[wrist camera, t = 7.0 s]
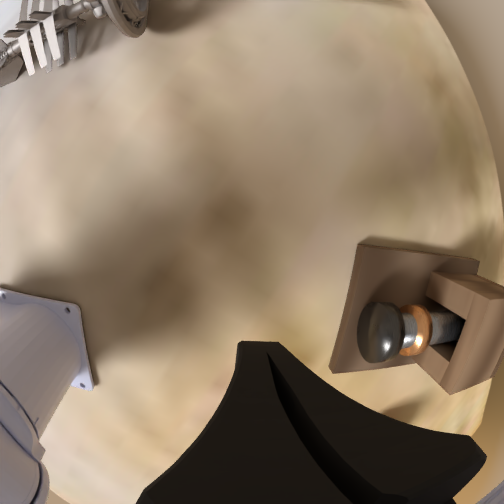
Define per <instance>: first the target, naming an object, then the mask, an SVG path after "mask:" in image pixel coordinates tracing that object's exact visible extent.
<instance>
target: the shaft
mask: <svg viewBox="0 0 504 504" xmlns="http://www.w3.org/2000/svg"><path fill="white" fill-rule="evenodd" d="M465 322H466V320H465V319H464V318H462V317H461V316H459V315H457V314H456V313H454V312H452V311H451V310H448V311H431V312H428V310H427V309H426V308H425V307H424V306H422V305H418V304H416V305H404V306H402V307H401V308H398V307H397V306H396V305H395V304H394V303H392V302H371V303H369V304H367V305H366V306H365V307H364V309H363V310H362V312H361V314H360V317H359V320H358V325H357V343H358V348H359V351H360V354H361V356H362V357H363V359H364V360H365V361H367V362H368V363H381V362H388V361H391V360H393V359H394V358H396V357H397V355H398V354H401V355H403V356H410V355H417V354H420V353H422V352H424V351H425V350H426V348H427V347H428V345H432V344H439V343H444V342H450V341H455V340H459V338H460V335H461V333H462V330H463V327H464V324H465Z"/></svg>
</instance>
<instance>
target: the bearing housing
mask: <svg viewBox="0 0 504 504" xmlns="http://www.w3.org/2000/svg"><path fill="white" fill-rule="evenodd" d="M479 262H480V261H478V260H475V259H471V258H464V257H457V256H450V255H442V254H435V253H427V252H419V251H411V250H404V249H395V248H387V247H379V246H371V245H362V244H357V250H356V255H355V261H354V266H353V271H352V276H351V281H350V285H349V290H348V294H347V299H346V303H345V307H344V312H343V316H342V320H341V324H340V328H339V331H338V335H337V339H336V343H335V346H334V350H333V353H332V357H331V360H330V364H329V368H330V370H331V371H332V373H333V374H335V373H347V372H357V371H366V370H374V369H382V368H389V367H395V366H402V365H408V364H413V363H417V364H418V365H419V366H420V367H421V368H422V369H423V370H424V371H426V372H427V373H428V374H429V375H430V376H431V377H432V378H433V379H434V380H435V381H436V382H437V383H438V384H439V385H440V386H441V387H442V388H443V389H444V390H445V391H446V392H447V393H448V394H449V395H452V394H454V393H457V392H460V391H462V390H465V389H467V388H470V387H472V386H474V385H477V384H479V383H481V382H483V381H486V380H488V379H489V378H492V377H494V376H495V374H496V372H497V370H498V368H499V366H500V364H501V362H502V359H503V357H504V287H503V286H501V285H499V284H497V283H494V282H492V281H490V280H488V279H485V278H483V277H481V276H478V275H477V271H478V267H479ZM371 302H392V303H394V304H395V305H396V306H397V307H398V308H401V307H402V306H404V305H416V304H418V305H422V306H424V307H425V308H426V309H427V310H428V312H431V311H448V310H451V311H452V312H454V313H456V314H457V315H459V316H461V317H462V318H464V319H465V320H466V322H465V324H464V327H463V330H462V333H461V335H460V338H459V340H455V341H450V342H444V343H439V344H432V345H428V347H427V348H426V350H425V351H424V352H422V353H420V354H417V355H410V356H403V355H401V354H398V355H397V357H396V358H394V359H393V360H391V361H388V362H381V363H368V362H367V361H365V360H364V359H363V357H362V356H361V354H360V351H359V348H358V343H357V325H358V320H359V317H360V314H361V312H362V310H363V309H364V307H365V306H366V305H367V304H369V303H371Z"/></svg>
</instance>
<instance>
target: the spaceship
mask: <svg viewBox="0 0 504 504" xmlns="http://www.w3.org/2000/svg"><path fill="white" fill-rule="evenodd" d="M64 4H65V5H61V6H59V1H58V0H42V1H40V0H33V2H32V9H31V14H29V16H30V17H29V18H30V21H27V6H28V0H22V5H21V12H20V19H19V22H18V23H17V24H16V25H17V27H15V28H18V30H8V31H7V32H6V33H5V34H3V35H5V36H4V37H13V38H15V41H12V42H10V43H8V45H7V44H6V43H5V42H4V41H3V40H2V39H0V87H2V86H4V85H6V84H9V83H11V82H14V81H16V79H17V76H18V74H19V71H20V69H21V67H22V65H23V63H24V61H25V65H26V68H27V71H28V74H29V76H30V75H32V74H33V73H35V69H34V65H33V61H32V57H31V52H30V48H29V46H34V47H35V51H36V54H37V57H38V60H39V64H40V67H41V68H43V67H44V66H46V73H48V72H50V71H51V70H52V56H53V59H54V61H55V60H56V59H57V63H58V66H60V65H62V64H64V31H68V41H69V53H70V60H71V59H73V58H75V57H77V25H82V24H84V23H86V22H84V21H86V20H83V19H80V18H79V16H78V15H80V14H82V13H84V12H88V11H89V10H92V11H93V13H94V15H95V17H96V18H98V19H101V18H104V17H105V16H106V15H107V14H108V16H109V17H110V19H111V20H112V21H113V23H114V24H115V25H116V26H117V27H118V29H119V30H120V31H121V32H122V33H123V34H124V35H126V36H128V37H131V38H137V37H139V36H140V35H142V34H143V33H144V31H145V29H146V25H147V13H148V9H149V0H81V1H79V2H77V3H76V4H73V0H64ZM39 10H40V11H39ZM137 23H138V24H137ZM136 25H137V26H136ZM16 39H17V40H16ZM42 40H44V47H43V42H42ZM44 50H45V52H44ZM21 51H22V55H23V58H24V60H23V59H22V58H21V57H20V56H19V55H18V54H19V53H20V52H21Z"/></svg>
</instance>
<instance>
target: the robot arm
mask: <svg viewBox="0 0 504 504" xmlns="http://www.w3.org/2000/svg"><path fill="white" fill-rule="evenodd" d="M67 308H69V310H70V312H69V311H68V310H67ZM82 383H83V384H82ZM70 386H73V387H77V388H81V389H84V390H88V391H92V390H93V388H94V382H93V378H92V374H91V370H90V365H89V360H88V355H87V350H86V344H85V339H84V333H83V326H82V319H81V311H80V308H79V307H78V306H77V305H76V304H73V303H68V302H62V301H57V300H52V299H47V298H42V297H37V296H32V295H28V294H23V293H19V292H15V291H10V290H6V289H2V288H0V504H46V503H47V500H48V496H49V483H50V482H49V475H48V471H47V469H46V467H45V466H44V464H43V463H42V462H41V459H42V457H43V455H44V453H45V451H46V450H45V449H44V448H43V446H42V445H41V444H40V443H39V440H40V438H41V436H42V434H43V432H44V430H45V428H46V427H47V425H48V423H49V421H50V419H51V418H52V416H53V414H54V412H55V410H56V409H57V407H58V405H59V404H60V402H61V400H62V399H63V397H64V395H65V393H66V392H67V390H68V389H69V387H70ZM486 458H487V456H486V454H485V453H484V452H483V451H482V449H481V448H480V447H479V446H478V445H477V444H476V442H474V440H473V439H472V438H471V437H470V436H469V435H460V434H452V433H445V432H439V431H433V430H429V429H425V428H421V427H417V426H413V425H410V424H407V423H404V422H401V421H398V420H395V419H392V418H390V417H388V416H385V415H383V414H380V413H378V412H376V411H373V410H371V409H369V408H367V407H365V406H363V405H362V404H360V403H358V402H356V401H354V400H353V399H351V398H349V397H347V396H346V395H344V394H342V393H341V392H339V391H338V390H336V389H335V388H334V387H332V386H331V385H329V384H328V383H326V382H325V381H324V380H322V379H321V378H320V377H318V376H317V375H316V374H315V373H313V372H312V371H311V370H310V369H309V368H307V367H306V366H305V365H304V364H303V363H302V362H300V361H299V360H298V359H297V358H296V357H295V356H294V355H293V354H292V353H290V352H289V351H288V350H287V349H286V348H285V347H284V346H283V345H281V344H280V343H279V342H261V341H241V342H239V343H238V345H237V354H236V363H235V371H234V374H233V377H232V379H231V382H230V384H229V386H228V389H227V391H226V393H225V395H224V397H223V399H222V401H221V403H220V405H219V406H218V408H217V410H216V411H215V413H214V415H213V416H212V418H211V419H210V421H209V422H208V424H207V425H206V427H205V428H204V429H203V431H202V432H201V433H200V435H199V436H198V437H197V439H196V440H195V441H194V442H193V443H192V444H191V445H190V447H189V448H188V449H187V450H186V451H185V452H184V453H183V454H182V455H181V457H180V458H179V459H178V460H177V461H176V462H175V463H174V464H173V465H172V466H171V467H170V468H168V469H167V470H166V471H165V472H164V473H163V474H162V475H160V476H159V477H158V478H157V479H156V480H154V481H153V482H152V483H151V484H150V485H149V486H147V487H146V488H145V489H144V490H143V492H142V493H141V495H140V497H139V499H138V500H137V502H136V504H456V502H455V501H454V500H453V497H454V496H455V495H456V494H457V493H458V492H459V491H460V490H461V489H462V488H463V487H464V486H465V485H466V484H467V483H468V482H469V481H470V480H471V479H472V478H473V477H474V476H475V475H476V474H477V473H478V472H479V471H480V469H481V468H482V466H483V465H484V463H485V461H486ZM476 504H504V480H503V481H502V482H501V483H500V484H499V485H498V486H497V487H496V488H494V489H493V490H492V491H491V492H490V493H489V494H487V495H486V496H485V497H484V498H482V499H481V500H480V501H479V502H478V503H476Z"/></svg>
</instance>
